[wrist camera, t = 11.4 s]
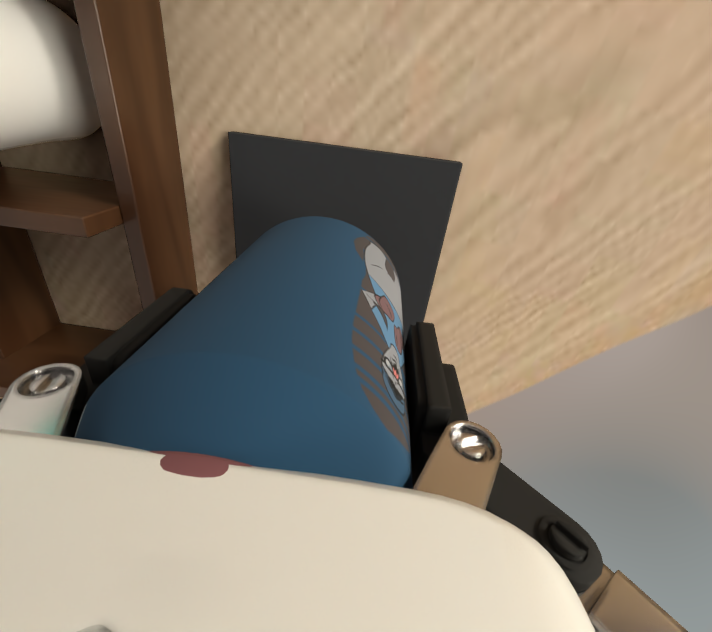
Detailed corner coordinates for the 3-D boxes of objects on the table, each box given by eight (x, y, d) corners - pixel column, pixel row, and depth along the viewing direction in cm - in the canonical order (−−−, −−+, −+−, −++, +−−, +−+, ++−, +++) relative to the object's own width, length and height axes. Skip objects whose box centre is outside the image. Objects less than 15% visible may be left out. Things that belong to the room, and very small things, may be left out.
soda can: (232, 307, 17) (-7, 598, 7) (284, 176, 14) (-26, 348, 4) (356, 366, 18) (312, 690, 8) (430, 257, 15) (520, 567, 5)
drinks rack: (150, -76, 13) (-5, -200, 8) (206, 353, 24) (154, 420, 18) (-119, -109, 13) (-440, -252, 8) (53, 331, 24) (-41, 391, 19)
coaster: (461, 162, 16) (463, 163, 16) (414, 349, 22) (415, 354, 22) (231, 131, 17) (227, 131, 16) (243, 325, 22) (240, 329, 22)
